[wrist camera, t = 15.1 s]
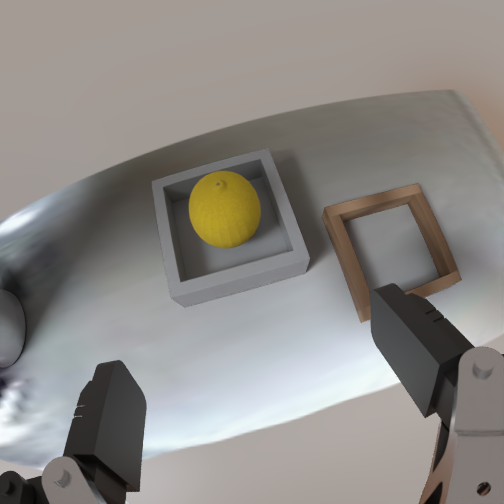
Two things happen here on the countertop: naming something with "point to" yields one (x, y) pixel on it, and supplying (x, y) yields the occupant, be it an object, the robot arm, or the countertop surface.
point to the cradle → (377, 203)
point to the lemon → (224, 209)
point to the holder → (232, 259)
